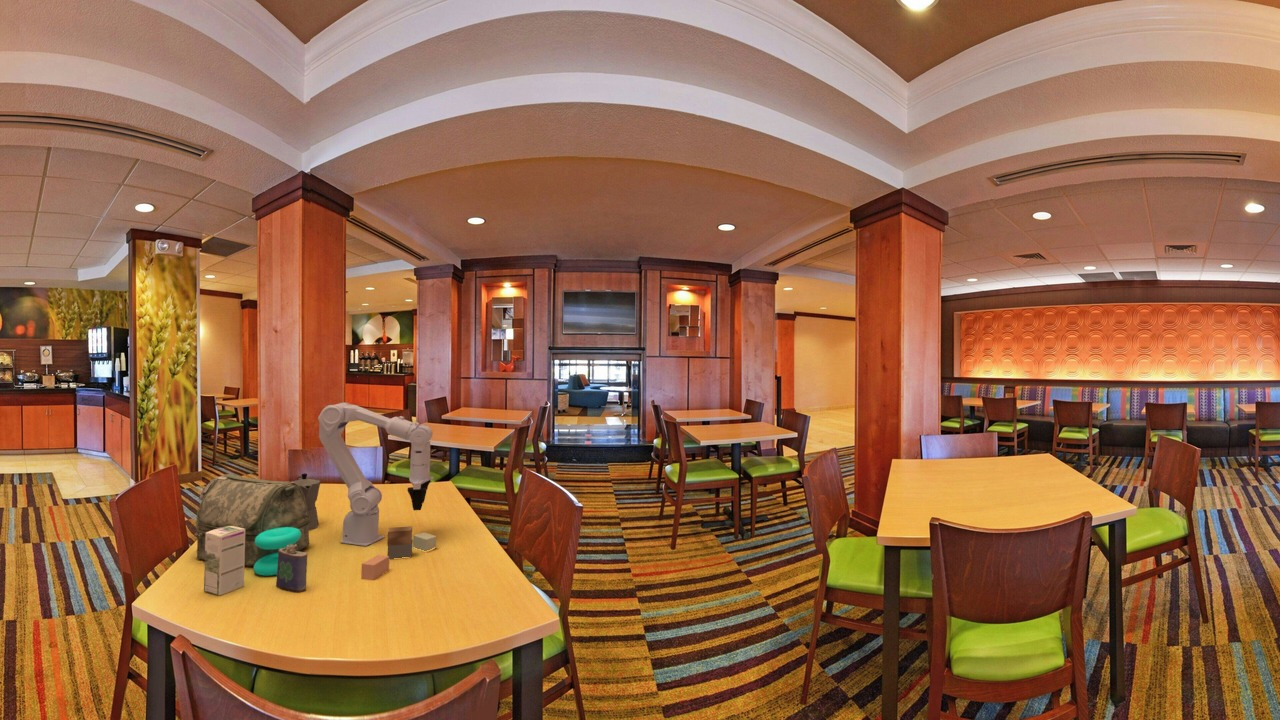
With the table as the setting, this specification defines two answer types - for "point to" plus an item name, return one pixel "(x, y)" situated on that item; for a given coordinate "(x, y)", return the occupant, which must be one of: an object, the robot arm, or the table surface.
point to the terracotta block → (375, 567)
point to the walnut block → (399, 536)
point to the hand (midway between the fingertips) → (418, 506)
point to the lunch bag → (251, 511)
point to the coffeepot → (310, 497)
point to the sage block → (424, 541)
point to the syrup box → (224, 560)
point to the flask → (291, 569)
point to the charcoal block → (399, 551)
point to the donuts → (274, 547)
